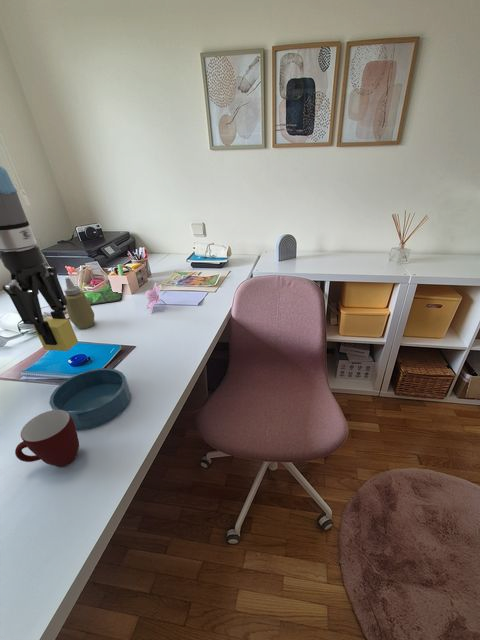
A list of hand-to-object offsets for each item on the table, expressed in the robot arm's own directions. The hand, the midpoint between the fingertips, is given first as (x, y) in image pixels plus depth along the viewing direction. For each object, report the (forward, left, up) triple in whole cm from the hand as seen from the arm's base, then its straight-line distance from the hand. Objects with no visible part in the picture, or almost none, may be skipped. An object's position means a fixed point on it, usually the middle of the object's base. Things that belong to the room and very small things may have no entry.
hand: (58, 338), depth 78 cm
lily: (+4, +45, -12) cm, 47 cm away
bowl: (+13, -10, -12) cm, 21 cm away
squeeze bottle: (-16, +28, -12) cm, 35 cm away
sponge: (0, 0, -2) cm, 2 cm away
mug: (+16, -27, -12) cm, 33 cm away
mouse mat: (-30, +57, -12) cm, 66 cm away
